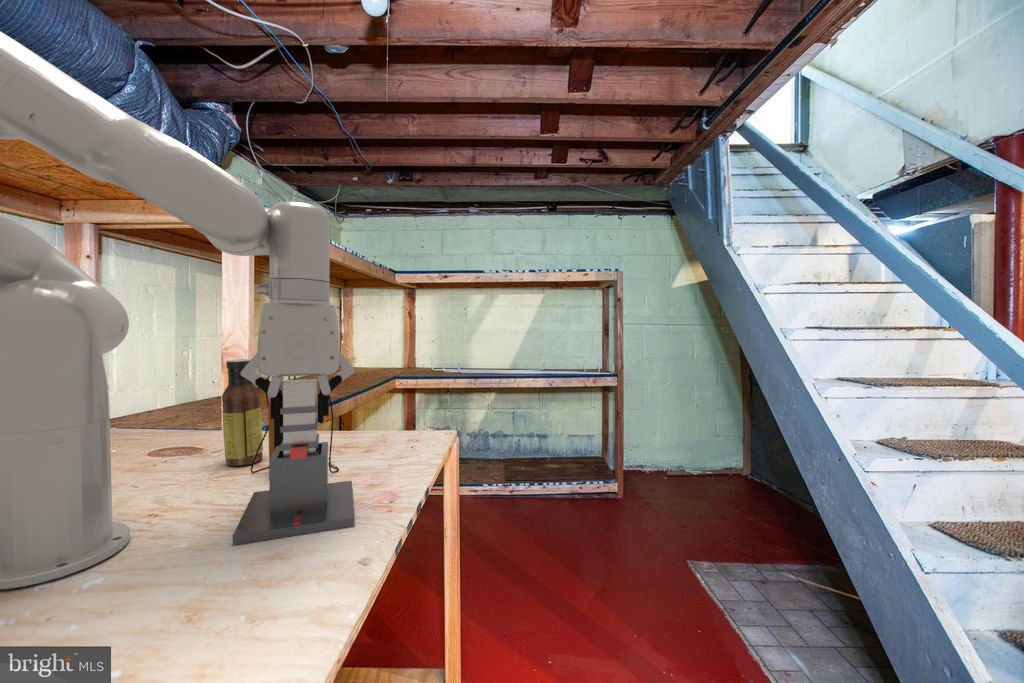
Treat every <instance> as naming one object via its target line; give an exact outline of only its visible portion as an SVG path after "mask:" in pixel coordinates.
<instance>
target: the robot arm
mask: <svg viewBox="0 0 1024 683" xmlns="http://www.w3.org/2000/svg"><path fill="white" fill-rule="evenodd" d="M0 140H5V141H8V140H11V141H12V140H25V141H27V142H29V143H30V144H32V145H33V146H35V147H37V148H38V149H41V150H42V151H44V152H46V153H47V154H49V155H51V156H52V157H55V158H56V159H57V160H59V161H60V162H63V163H64V164H66V165H68V166H70V167H71V168H73V169H74V170H76V171H77V172H79V173H81V174H83V175H85V176H88V177H89V178H91V179H94V180H96V181H99V182H105V183H109V184H113V185H116V186H118V187H121V188H123V189H125V190H127V191H128V192H131V193H133V194H134V195H136V196H138V197H140V198H141V199H144V200H145V201H147V202H148V203H150V204H152V205H154V206H156V207H157V208H159V209H161V210H163V212H164V211H165V212H166V213H168V214H170V215H171V216H173V217H174V218H177V219H178V220H179V221H181V222H182V223H184V224H186V225H188V226H189V227H191V228H193V230H194V229H195V231H198V232H199V233H201V234H202V235H204V236H205V238H206V239H207V240H208V241H209V242H210V244H212V245H213V246H214V247H215V248H216V249H218V250H220V251H221V252H223V253H226V254H228V255H231V256H239V257H246V256H248V257H249V256H250V257H252V256H269V279H268V282H266V283H263V284H257V287H256V289H257V292H256V293H257V294H258V295H263V296H267V297H268V299H269V302H263V303H262V306H261V311H260V316H259V324H258V325H259V326H258V332H257V333H258V335H257V336H258V337H257V351H256V354H254V356H253V357H252V358H251V359H250V362H249V363H248V364H247V365H246V366H245V367H244V369H243V370H242V371H241V376H243V377H244V378H246V379H248V380H249V381H251V382H253V384H254V385H255V386H257V387H258V388H259V389H261V390H262V392H264V393H265V394H266V393H267V396H268V397H269V399H270V400H269V401H270V402H269V404H270V413H271V419H275V420H276V426H280V425H282V423H283V414H280V408H281V407H282V406H283V390H281V388H282V386H283V383H284V382H283V380H284V379H285V377H288V376H290V377H294V376H296V377H299V376H301V377H302V376H303V377H305V376H316V379H317V382H318V385H319V387H320V389H319V390H318V392H319V393H317V401H318V412H317V417H318V422H319V424H323V423H324V421H325V420H324V419H325V418H324V417H329V415H330V411H329V410H330V401H329V395H330V394H331V392H332V391H333V390H335V389H336V388H337V387H338V386H339V385H340V384H342V382H343V381H345V380H346V379H348V378H349V377H350V376H352V375H354V374H355V372H356V371H355V367H354V366H353V365H352V364H351V362H350V361H349V360H348V359H347V357H345V354H343V353H342V351H340V335H339V334H340V333H339V332H340V331H339V320H338V315H337V310H336V304H335V305H334V304H330V281H331V280H330V275H331V274H330V271H331V270H330V265H331V264H330V263H331V262H330V261H331V260H330V259H331V258H330V257H331V256H330V254H331V251H330V244H331V243H330V241H331V240H330V237H331V235H330V227H331V225H330V217H329V214H328V213H327V211H325V210H324V209H323V208H321V207H319V206H317V205H315V204H311V203H307V202H302V201H280V202H277V203H275V204H273V205H272V207H268V206H267V207H266V206H265V205H264V203H263V201H262V200H261V199H260V198H259V196H258V195H257V194H256V193H255V192H254V191H253V190H252V189H250V188H249V187H248V186H247V185H246V184H244V183H243V182H242V181H240V180H239V179H237V178H236V177H234V175H232V174H230V173H229V172H226V171H225V170H224V169H222V168H221V167H219V166H218V165H216V164H215V163H213V162H212V161H210V159H208V158H206V157H204V156H203V155H201V154H200V153H198V152H197V151H195V149H194V150H193V149H192V148H191V147H189V146H187V145H185V144H184V143H182V142H181V141H178V139H175V138H173V137H171V136H170V135H168V134H166V133H163V131H162V132H161V131H160V130H158V129H156V128H154V127H153V126H150V125H149V124H147V123H145V122H143V121H141V120H139V119H137V118H135V117H133V116H132V115H130V114H128V113H127V112H125V111H123V110H122V109H120V108H119V107H117V106H116V105H114V104H113V103H112V102H109V101H108V100H107V99H105V98H104V97H102V96H100V95H98V94H97V93H95V92H94V91H93V90H91V89H89V88H88V87H86V86H85V85H83V84H82V83H81V82H79V81H78V80H76V79H75V78H73V77H72V76H70V75H68V74H67V73H65V72H64V71H62V70H61V69H60V68H58V67H57V66H55V65H54V64H52V63H50V62H49V61H47V60H45V58H43V57H42V56H40V55H38V54H37V53H35V52H33V50H30V49H29V48H28V47H26V46H24V45H23V44H21V43H20V42H18V41H17V40H15V39H14V38H12V37H11V36H9V35H8V34H5V33H4V32H3V31H1V30H0ZM129 321H130V319H129V315H128V312H127V311H126V309H125V307H124V305H122V303H121V302H120V301H119V300H118V299H117V297H115V295H113V294H112V293H110V291H108V290H107V289H106V288H105V287H103V286H102V284H100V283H99V282H98V281H96V280H95V279H94V278H93V277H91V276H90V275H89V274H87V273H86V272H85V271H84V270H83V269H81V268H80V267H79V266H77V265H76V264H75V263H74V262H73V261H72V260H70V259H69V258H68V257H67V256H66V255H64V254H63V253H61V251H59V250H58V249H57V248H55V247H54V245H52V244H51V243H49V242H48V241H47V240H46V239H44V238H43V237H42V236H40V235H39V234H37V233H35V232H34V231H32V229H29V228H28V227H27V226H24V225H22V224H20V223H19V222H17V221H14V220H12V219H9V218H7V217H3V216H1V215H0V590H1V589H2V590H10V589H16V588H23V587H29V586H32V585H37V584H42V583H44V582H49V581H52V580H56V579H60V578H63V577H65V576H69V575H71V574H74V573H77V572H80V571H82V570H85V569H87V568H90V567H92V566H94V565H96V564H99V563H101V562H103V561H104V560H106V559H108V558H110V557H112V556H114V555H115V554H116V553H118V552H119V551H121V550H122V549H123V548H124V547H125V546H126V545H127V544H128V543H129V541H130V539H131V530H130V527H129V525H127V524H125V523H123V522H122V523H121V522H119V521H117V522H116V521H113V495H112V494H113V491H112V488H113V487H112V456H111V455H112V454H111V450H112V449H111V447H112V446H111V417H110V396H109V385H108V378H107V373H106V372H107V371H106V369H105V362H104V357H103V356H104V354H107V353H110V352H111V351H113V350H115V349H116V348H118V347H119V346H120V344H121V343H123V341H124V340H125V338H126V337H127V334H128V332H129V327H130V322H129ZM339 367H341V370H340V371H339V372H338V373H337V374H335V373H336V372H337V371H338V370H339ZM332 374H335V375H333V377H331V378H330V379H329V375H332ZM266 376H267V377H266ZM268 376H270V378H271V380H270V379H269V380H268V379H267V378H268Z"/></svg>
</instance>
